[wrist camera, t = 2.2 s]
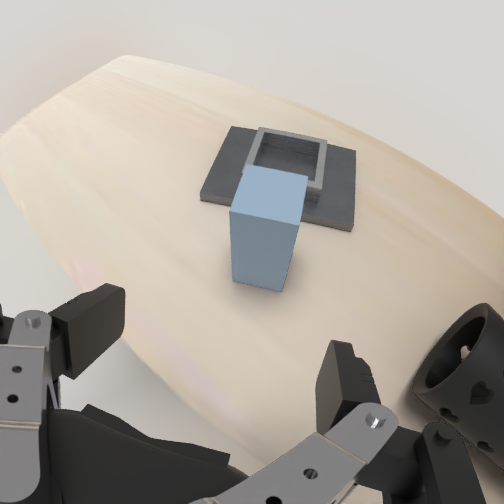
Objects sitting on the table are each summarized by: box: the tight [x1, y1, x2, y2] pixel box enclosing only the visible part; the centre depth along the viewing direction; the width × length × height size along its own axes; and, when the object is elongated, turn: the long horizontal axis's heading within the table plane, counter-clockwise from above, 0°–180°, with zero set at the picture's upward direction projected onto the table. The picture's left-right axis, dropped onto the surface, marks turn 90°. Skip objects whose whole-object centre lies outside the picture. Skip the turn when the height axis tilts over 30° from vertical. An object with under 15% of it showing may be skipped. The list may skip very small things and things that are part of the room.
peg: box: [229, 164, 308, 292], centre depth 25 cm, size 4×4×10 cm
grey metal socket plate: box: [200, 126, 356, 232], centre depth 34 cm, size 16×12×3 cm
